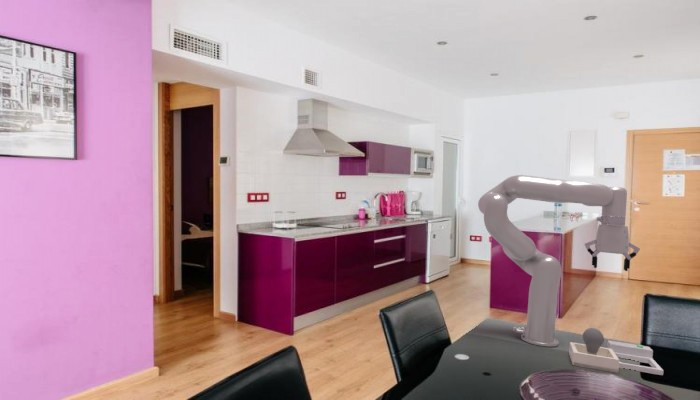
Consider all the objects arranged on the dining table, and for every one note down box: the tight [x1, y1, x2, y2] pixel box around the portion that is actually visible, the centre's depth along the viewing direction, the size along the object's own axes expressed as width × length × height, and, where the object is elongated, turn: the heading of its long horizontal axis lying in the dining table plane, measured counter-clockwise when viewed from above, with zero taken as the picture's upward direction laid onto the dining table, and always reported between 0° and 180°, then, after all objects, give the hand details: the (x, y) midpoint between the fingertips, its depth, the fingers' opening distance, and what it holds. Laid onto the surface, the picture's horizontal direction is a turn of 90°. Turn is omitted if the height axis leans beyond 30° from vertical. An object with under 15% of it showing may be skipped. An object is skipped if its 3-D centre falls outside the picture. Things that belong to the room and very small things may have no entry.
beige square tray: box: [568, 341, 620, 374], centre depth 147 cm, size 12×12×4 cm
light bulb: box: [582, 327, 605, 355], centre depth 147 cm, size 6×6×10 cm
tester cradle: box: [606, 340, 664, 376], centre depth 150 cm, size 12×17×5 cm
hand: (610, 268), depth 166 cm, fingers open, 9 cm apart
